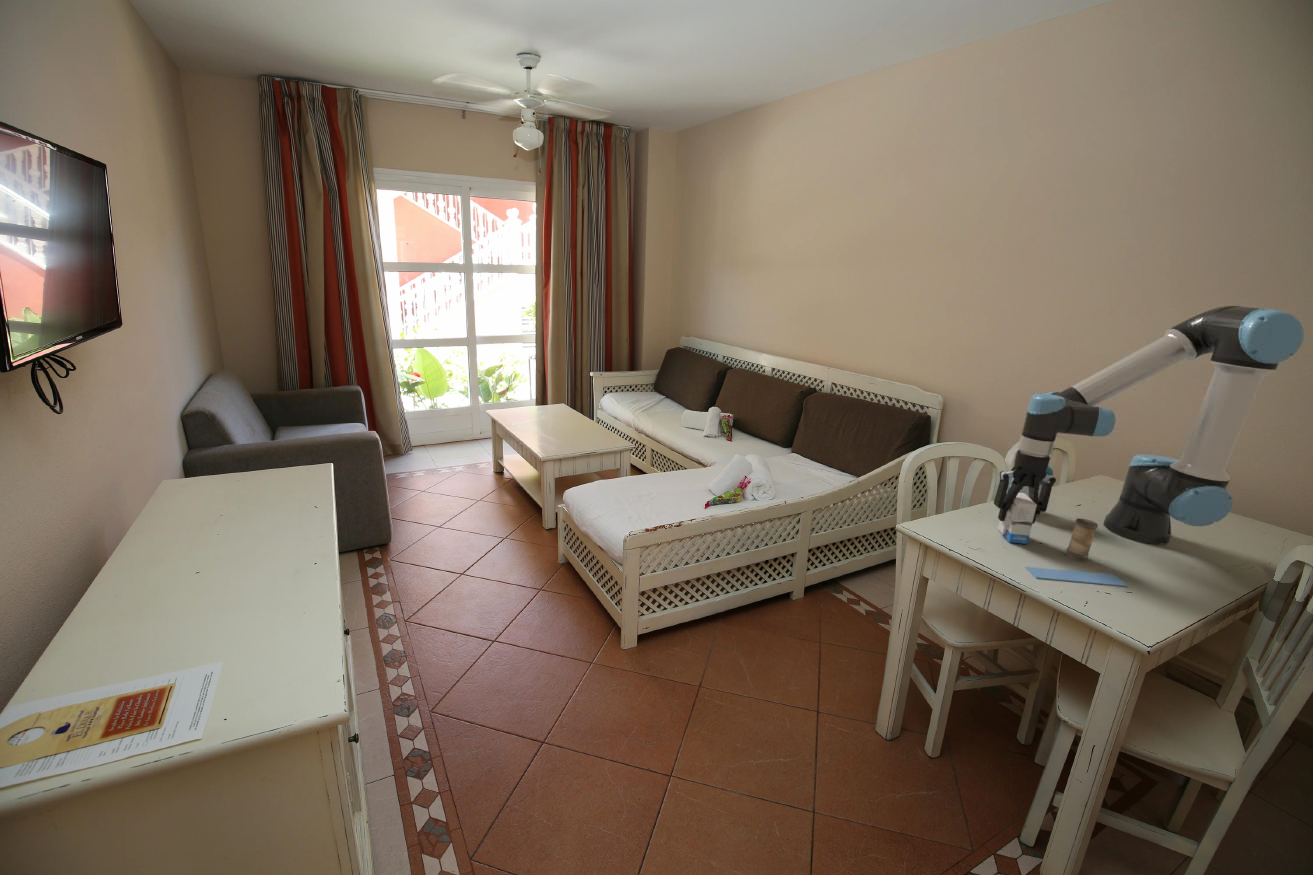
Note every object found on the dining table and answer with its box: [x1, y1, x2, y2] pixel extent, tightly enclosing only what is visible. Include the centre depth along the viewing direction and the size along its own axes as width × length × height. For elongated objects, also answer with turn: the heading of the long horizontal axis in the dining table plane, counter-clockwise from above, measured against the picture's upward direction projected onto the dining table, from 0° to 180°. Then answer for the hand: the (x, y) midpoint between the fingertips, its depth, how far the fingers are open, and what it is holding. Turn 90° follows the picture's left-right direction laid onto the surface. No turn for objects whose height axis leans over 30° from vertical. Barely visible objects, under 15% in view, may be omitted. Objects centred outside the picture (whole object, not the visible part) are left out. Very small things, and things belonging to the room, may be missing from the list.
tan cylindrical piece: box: [1065, 517, 1099, 563], centre depth 149 cm, size 5×5×10 cm
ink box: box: [1000, 493, 1037, 545], centre depth 158 cm, size 9×5×12 cm, turn 169°
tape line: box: [1025, 566, 1129, 588], centre depth 141 cm, size 21×5×1 cm, turn 85°
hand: (1012, 532), depth 160 cm, fingers closed on ink box, 5 cm apart
